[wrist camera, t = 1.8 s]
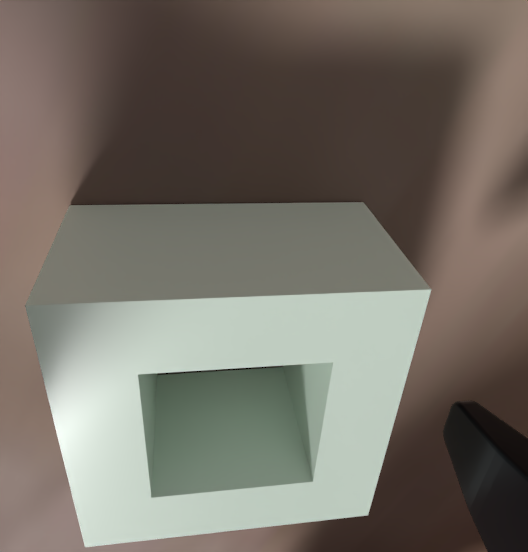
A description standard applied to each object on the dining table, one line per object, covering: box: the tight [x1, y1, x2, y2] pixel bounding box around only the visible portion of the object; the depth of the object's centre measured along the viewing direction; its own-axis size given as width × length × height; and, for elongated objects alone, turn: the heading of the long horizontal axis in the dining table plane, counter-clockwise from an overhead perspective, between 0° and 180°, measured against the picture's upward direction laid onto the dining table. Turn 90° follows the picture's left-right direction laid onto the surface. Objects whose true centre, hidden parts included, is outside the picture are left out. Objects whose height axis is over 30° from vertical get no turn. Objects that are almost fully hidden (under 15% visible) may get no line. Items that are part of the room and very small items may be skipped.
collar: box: [25, 202, 431, 547], centre depth 11 cm, size 6×6×4 cm
